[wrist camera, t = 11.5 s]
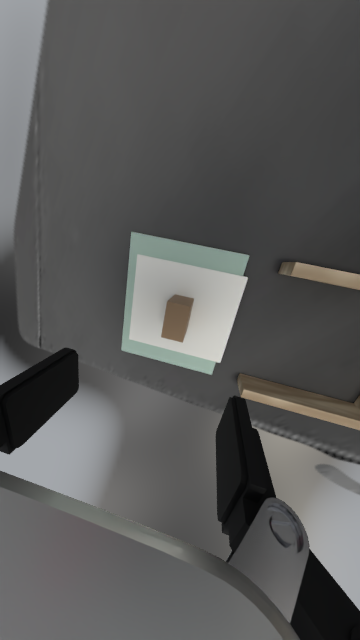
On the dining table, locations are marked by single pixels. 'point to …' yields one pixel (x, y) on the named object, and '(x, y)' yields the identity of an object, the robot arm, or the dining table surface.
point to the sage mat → (184, 255)
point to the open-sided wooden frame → (297, 399)
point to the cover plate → (204, 311)
